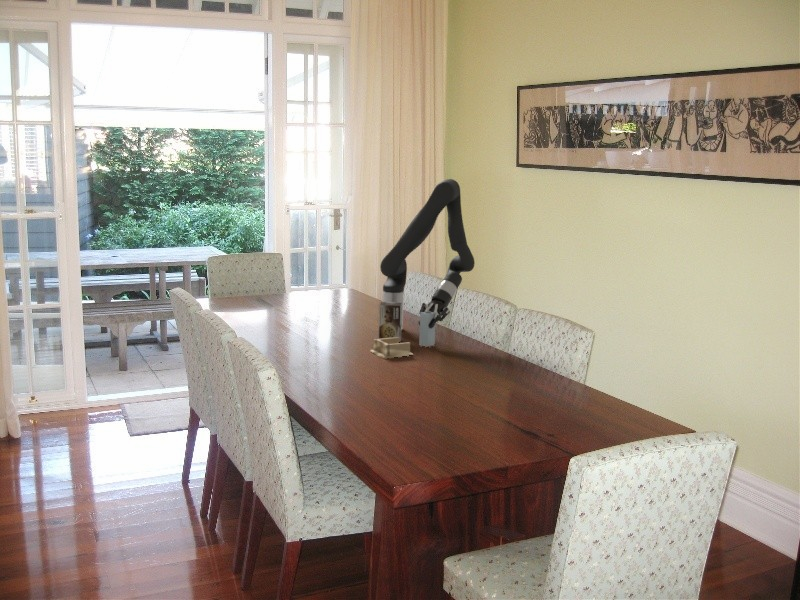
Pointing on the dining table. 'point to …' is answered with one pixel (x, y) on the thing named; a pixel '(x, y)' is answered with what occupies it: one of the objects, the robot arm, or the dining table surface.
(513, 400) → the dining table surface
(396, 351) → the keeper pocket
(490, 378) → the dining table surface
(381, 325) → the coffee box
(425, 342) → the post
